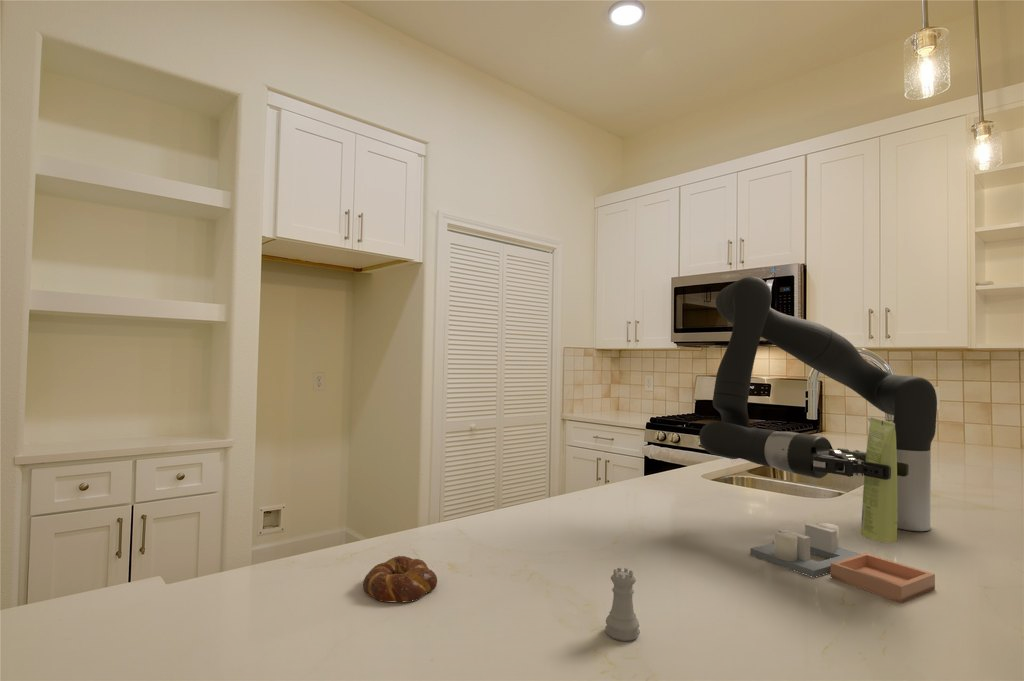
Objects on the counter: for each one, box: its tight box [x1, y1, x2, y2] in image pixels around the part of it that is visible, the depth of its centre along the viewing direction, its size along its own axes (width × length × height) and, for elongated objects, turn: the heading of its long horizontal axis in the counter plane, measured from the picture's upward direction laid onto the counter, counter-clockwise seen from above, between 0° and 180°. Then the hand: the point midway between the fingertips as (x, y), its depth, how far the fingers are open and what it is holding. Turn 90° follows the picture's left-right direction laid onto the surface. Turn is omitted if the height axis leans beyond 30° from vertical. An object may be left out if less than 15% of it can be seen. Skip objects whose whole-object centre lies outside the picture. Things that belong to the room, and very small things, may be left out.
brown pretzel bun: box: [362, 555, 438, 603], centre depth 84 cm, size 12×11×4 cm
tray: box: [830, 552, 936, 604], centre depth 90 cm, size 11×11×2 cm
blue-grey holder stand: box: [749, 522, 861, 578], centre depth 101 cm, size 17×12×5 cm
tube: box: [860, 416, 898, 544], centre depth 90 cm, size 6×5×20 cm
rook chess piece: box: [604, 567, 641, 642], centre depth 72 cm, size 4×4×8 cm
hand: (898, 471), depth 88 cm, fingers closed on tube, 5 cm apart
